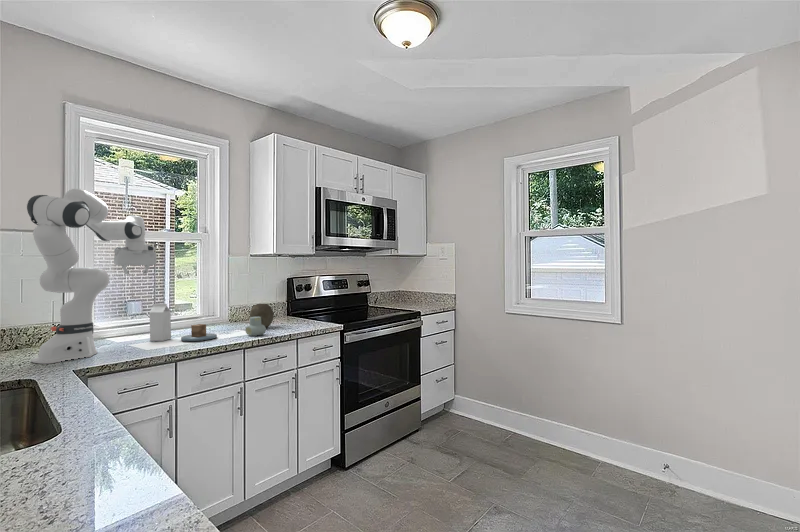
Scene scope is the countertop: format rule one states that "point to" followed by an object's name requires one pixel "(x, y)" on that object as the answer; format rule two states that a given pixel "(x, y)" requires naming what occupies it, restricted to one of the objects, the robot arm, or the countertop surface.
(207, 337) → the dish
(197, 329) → the block
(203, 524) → the countertop surface
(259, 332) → the air freshener
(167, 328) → the milk carton
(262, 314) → the dark rounded stone
